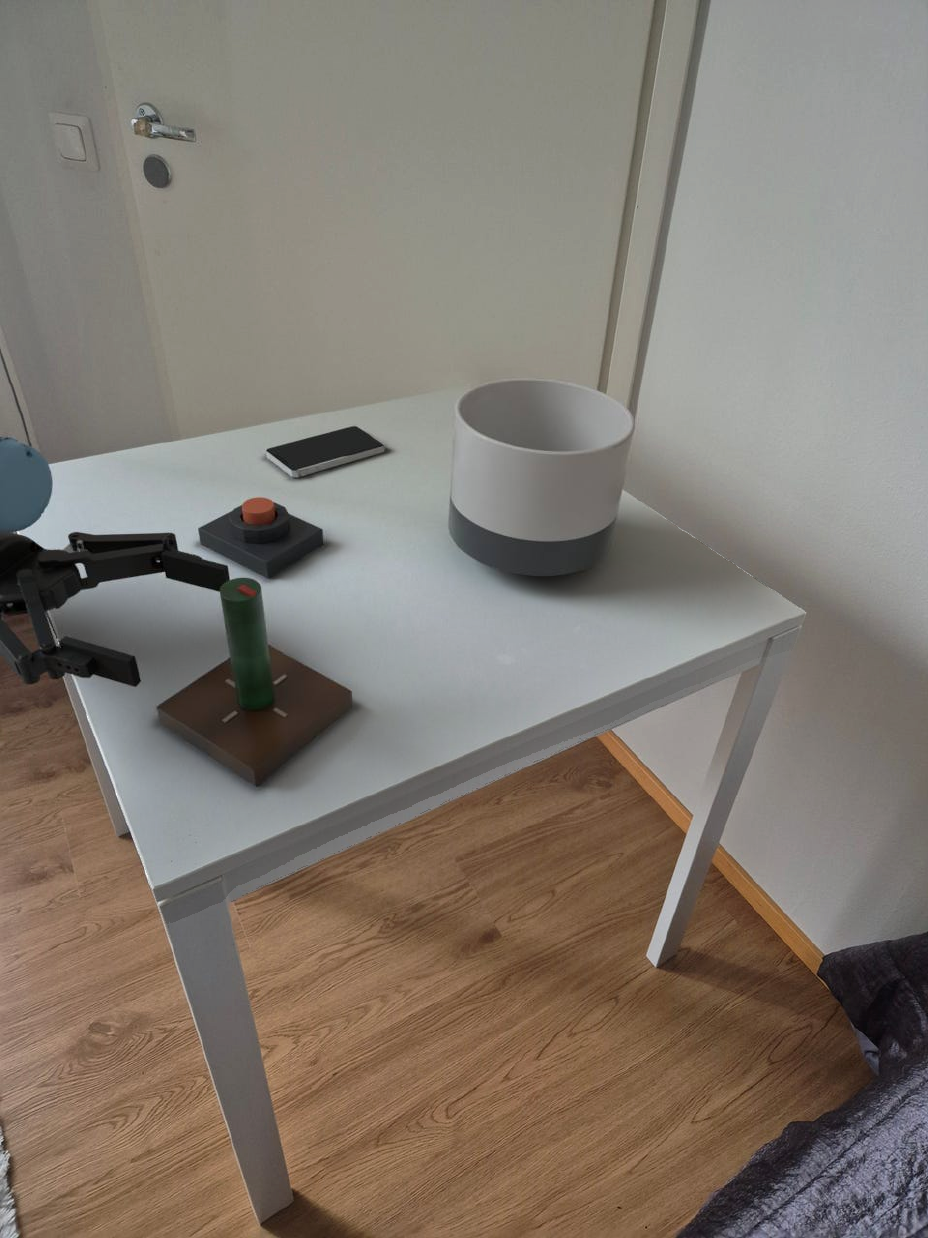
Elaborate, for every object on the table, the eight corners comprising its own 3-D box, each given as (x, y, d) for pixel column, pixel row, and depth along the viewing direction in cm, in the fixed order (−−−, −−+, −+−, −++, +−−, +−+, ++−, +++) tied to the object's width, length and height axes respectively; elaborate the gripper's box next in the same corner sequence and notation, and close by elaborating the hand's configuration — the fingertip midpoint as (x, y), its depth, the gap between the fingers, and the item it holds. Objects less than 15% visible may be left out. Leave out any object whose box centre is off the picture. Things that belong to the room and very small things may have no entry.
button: (236, 519, 91) (234, 505, 90) (259, 506, 94) (258, 493, 93) (259, 530, 90) (257, 516, 89) (282, 517, 92) (280, 504, 91)
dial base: (159, 723, 71) (155, 705, 69) (259, 653, 79) (257, 636, 77) (256, 787, 66) (253, 769, 64) (352, 706, 74) (351, 689, 72)
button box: (200, 544, 93) (195, 514, 91) (257, 513, 99) (254, 485, 97) (268, 578, 89) (264, 548, 86) (323, 544, 95) (321, 515, 92)
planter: (496, 615, 86) (512, 466, 75) (420, 527, 99) (424, 389, 88) (640, 575, 93) (673, 435, 82) (551, 498, 107) (570, 368, 96)
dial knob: (229, 700, 71) (210, 587, 63) (256, 680, 73) (241, 569, 65) (255, 716, 69) (238, 602, 62) (281, 696, 71) (269, 584, 64)
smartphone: (386, 445, 114) (294, 471, 106) (386, 452, 115) (294, 480, 106) (354, 424, 118) (263, 448, 110) (354, 432, 119) (264, 456, 111)
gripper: (83, 534, 85) (262, 580, 80) (-121, 683, 66) (98, 754, 61) (65, 471, 80) (254, 515, 76) (-160, 611, 61) (75, 682, 57)
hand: (185, 622), depth 68 cm, fingers open, 13 cm apart
